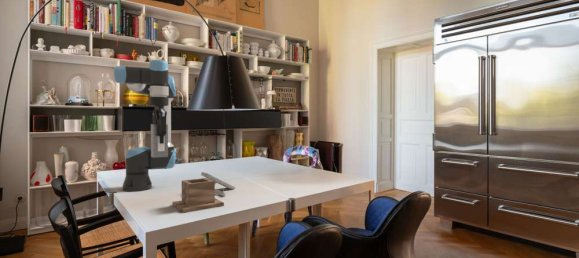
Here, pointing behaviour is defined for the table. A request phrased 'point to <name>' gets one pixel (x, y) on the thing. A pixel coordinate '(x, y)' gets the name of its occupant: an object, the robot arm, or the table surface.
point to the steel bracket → (154, 142)
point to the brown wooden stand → (197, 195)
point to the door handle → (218, 183)
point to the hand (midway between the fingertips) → (159, 150)
